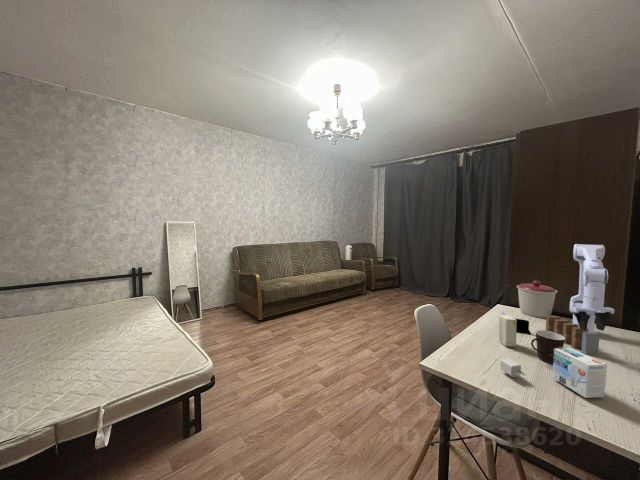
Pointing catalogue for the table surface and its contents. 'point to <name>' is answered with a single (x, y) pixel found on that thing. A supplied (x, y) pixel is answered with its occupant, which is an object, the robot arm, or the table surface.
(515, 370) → the usb wall charger
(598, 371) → the light bulb box
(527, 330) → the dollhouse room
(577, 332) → the domino
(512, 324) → the skincare box
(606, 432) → the table surface
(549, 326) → the domino
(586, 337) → the domino
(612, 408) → the table surface
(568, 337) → the domino
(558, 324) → the domino
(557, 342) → the coffee mug
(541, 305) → the canister
